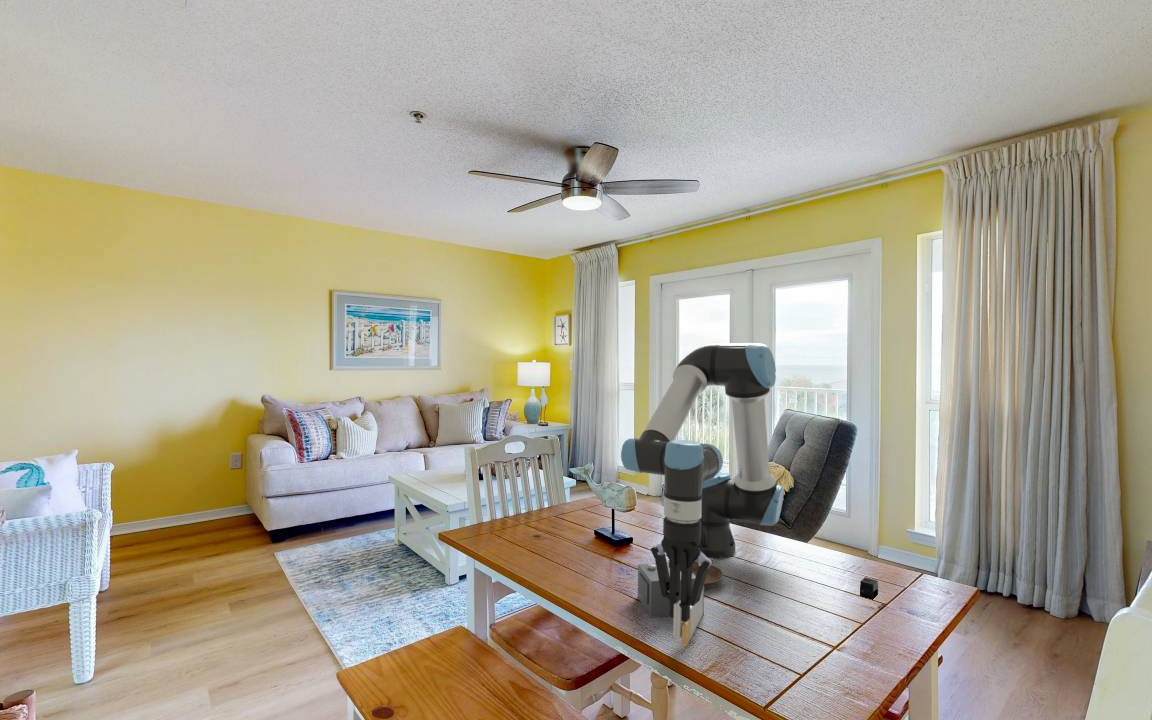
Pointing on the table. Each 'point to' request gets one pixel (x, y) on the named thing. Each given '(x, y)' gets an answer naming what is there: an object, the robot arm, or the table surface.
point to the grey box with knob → (654, 590)
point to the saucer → (709, 575)
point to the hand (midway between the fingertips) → (679, 634)
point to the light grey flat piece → (693, 620)
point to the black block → (868, 588)
